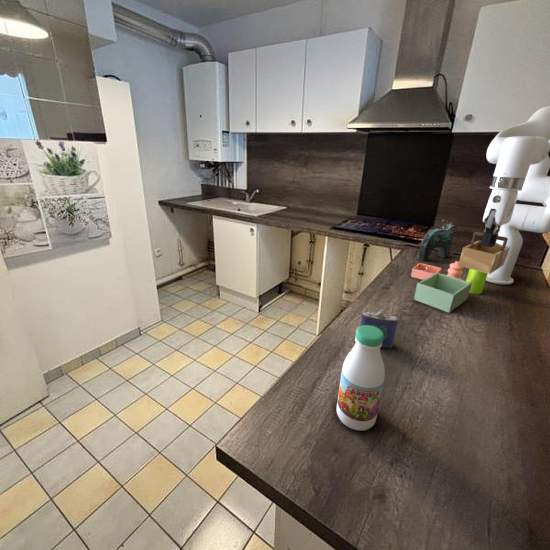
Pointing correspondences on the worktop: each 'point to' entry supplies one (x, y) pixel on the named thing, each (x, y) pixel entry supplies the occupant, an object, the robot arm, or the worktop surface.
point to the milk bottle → (362, 380)
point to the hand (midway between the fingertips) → (487, 245)
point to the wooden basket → (484, 255)
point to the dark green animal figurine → (437, 241)
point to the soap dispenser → (477, 280)
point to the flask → (382, 325)
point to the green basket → (442, 291)
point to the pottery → (436, 271)
